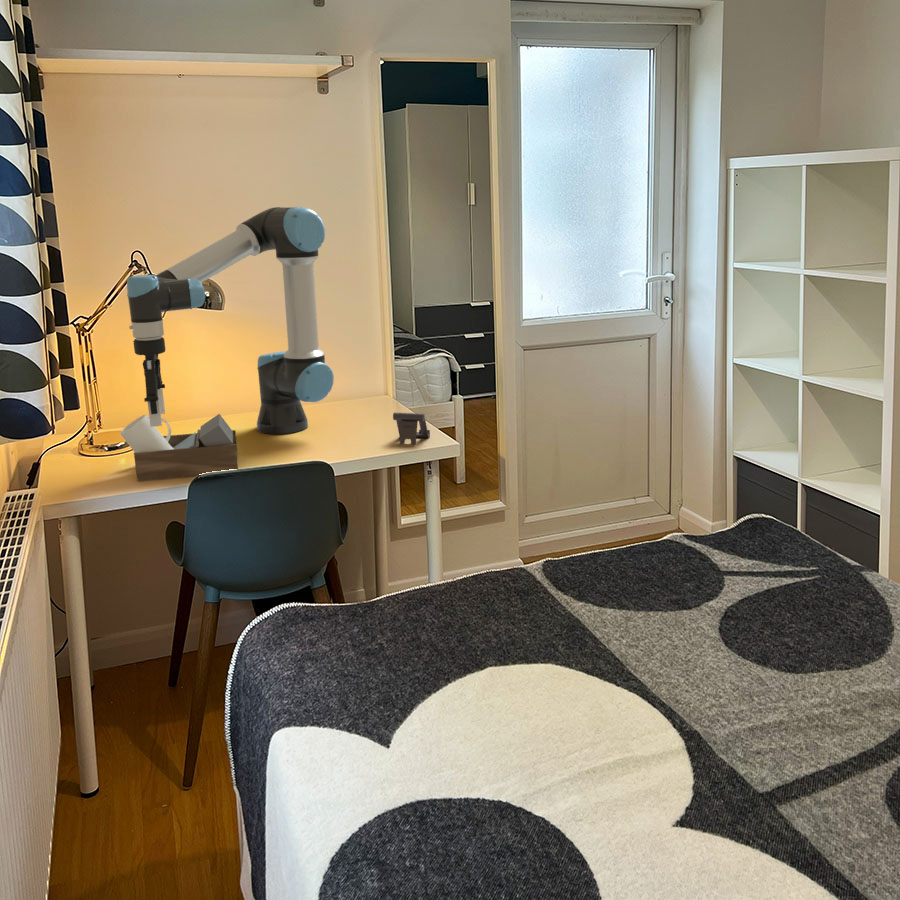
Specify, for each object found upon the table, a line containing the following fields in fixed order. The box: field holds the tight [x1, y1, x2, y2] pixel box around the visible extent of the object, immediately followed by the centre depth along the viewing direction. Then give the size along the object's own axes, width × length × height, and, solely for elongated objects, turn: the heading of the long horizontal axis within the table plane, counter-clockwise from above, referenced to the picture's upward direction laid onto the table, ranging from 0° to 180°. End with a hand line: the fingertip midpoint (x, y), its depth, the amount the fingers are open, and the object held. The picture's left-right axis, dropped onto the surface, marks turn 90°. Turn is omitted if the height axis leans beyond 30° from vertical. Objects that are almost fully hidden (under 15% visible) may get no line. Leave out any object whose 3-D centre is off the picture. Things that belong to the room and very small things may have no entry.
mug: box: [119, 414, 174, 453], centre depth 255 cm, size 12×8×12 cm
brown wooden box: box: [133, 429, 239, 482], centre depth 258 cm, size 16×25×8 cm, turn 102°
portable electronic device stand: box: [392, 411, 431, 445], centre depth 278 cm, size 9×8×8 cm
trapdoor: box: [173, 413, 233, 449], centre depth 258 cm, size 22×13×6 cm
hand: (158, 419), depth 254 cm, fingers open, 13 cm apart
